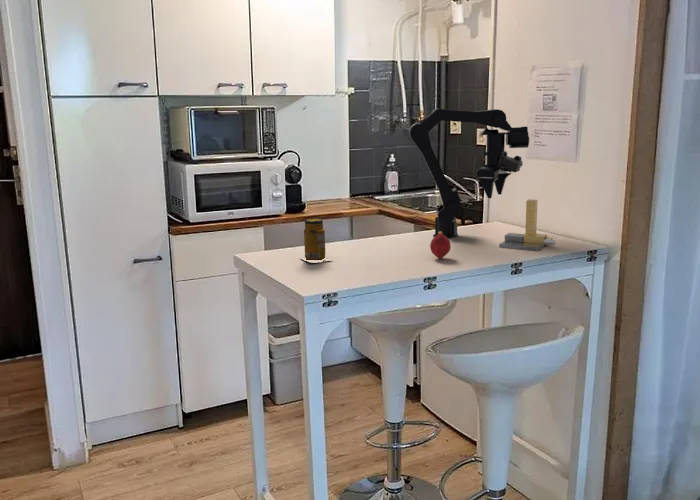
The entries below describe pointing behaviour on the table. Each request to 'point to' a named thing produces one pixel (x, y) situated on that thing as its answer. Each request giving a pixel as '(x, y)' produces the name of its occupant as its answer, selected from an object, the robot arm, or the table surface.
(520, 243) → the fixed leaf
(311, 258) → the condiment
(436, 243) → the onion
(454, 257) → the table surface
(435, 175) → the robot arm
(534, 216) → the brass block assembly
